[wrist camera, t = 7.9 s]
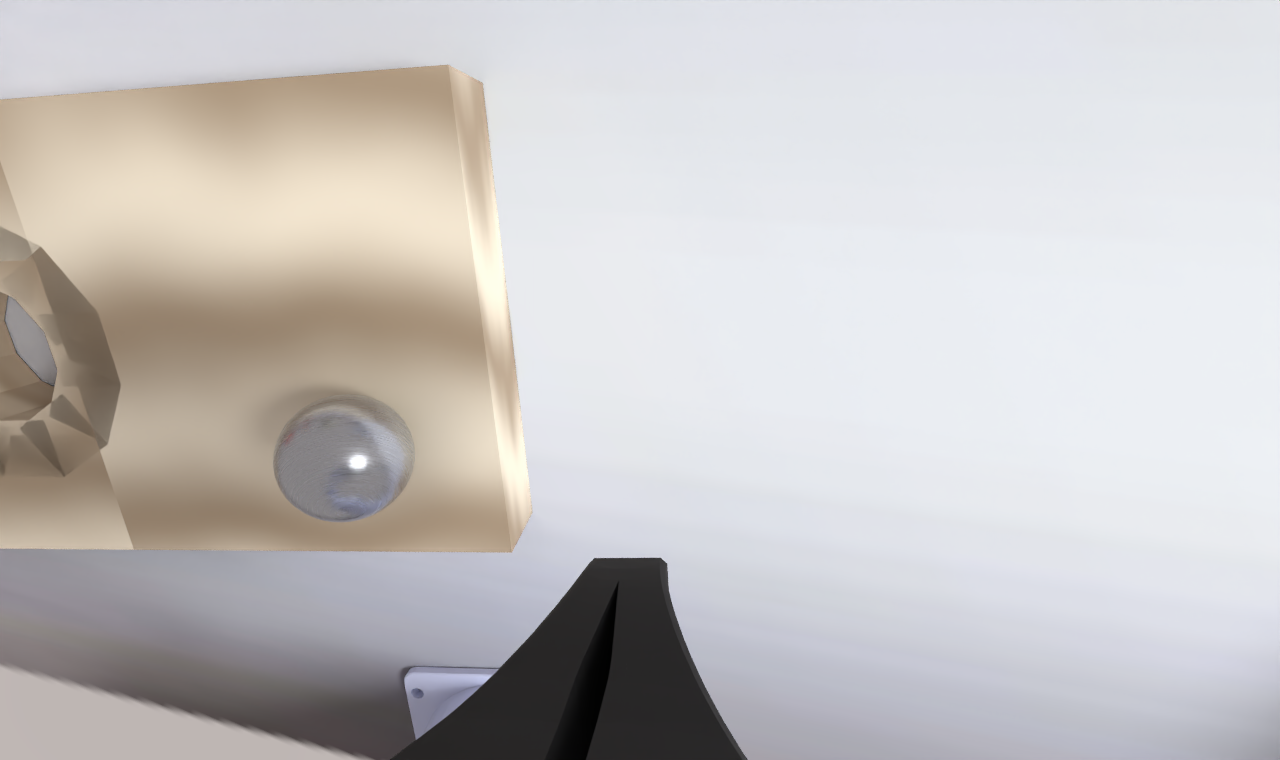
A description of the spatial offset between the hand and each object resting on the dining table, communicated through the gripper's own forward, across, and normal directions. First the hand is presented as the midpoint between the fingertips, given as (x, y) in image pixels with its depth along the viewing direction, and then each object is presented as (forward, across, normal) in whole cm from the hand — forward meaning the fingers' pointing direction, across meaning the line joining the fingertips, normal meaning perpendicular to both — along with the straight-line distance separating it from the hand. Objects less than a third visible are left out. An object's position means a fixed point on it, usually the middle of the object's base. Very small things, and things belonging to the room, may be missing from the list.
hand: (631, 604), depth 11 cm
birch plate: (+9, +16, -4) cm, 19 cm away
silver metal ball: (+5, +8, -1) cm, 10 cm away
